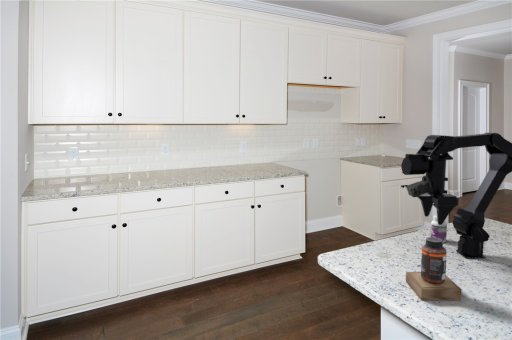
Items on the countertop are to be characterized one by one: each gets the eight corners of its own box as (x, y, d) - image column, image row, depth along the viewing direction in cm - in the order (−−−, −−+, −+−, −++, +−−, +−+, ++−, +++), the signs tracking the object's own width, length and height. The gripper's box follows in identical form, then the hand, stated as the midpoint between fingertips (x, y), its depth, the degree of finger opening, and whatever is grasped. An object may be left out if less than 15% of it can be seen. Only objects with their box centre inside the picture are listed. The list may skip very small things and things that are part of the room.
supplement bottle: (450, 283, 88) (452, 242, 86) (429, 285, 87) (431, 244, 85) (435, 273, 93) (437, 234, 92) (415, 275, 93) (417, 236, 91)
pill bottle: (427, 238, 130) (428, 214, 128) (440, 237, 130) (441, 214, 128) (435, 243, 124) (436, 218, 123) (449, 242, 124) (450, 217, 123)
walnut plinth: (441, 281, 95) (441, 271, 95) (460, 300, 85) (461, 288, 85) (405, 281, 96) (406, 271, 95) (421, 300, 86) (421, 288, 85)
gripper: (399, 170, 117) (397, 212, 119) (422, 179, 99) (420, 229, 101) (431, 169, 117) (429, 212, 119) (461, 178, 98) (458, 229, 100)
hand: (433, 220), depth 110 cm, fingers open, 9 cm apart
